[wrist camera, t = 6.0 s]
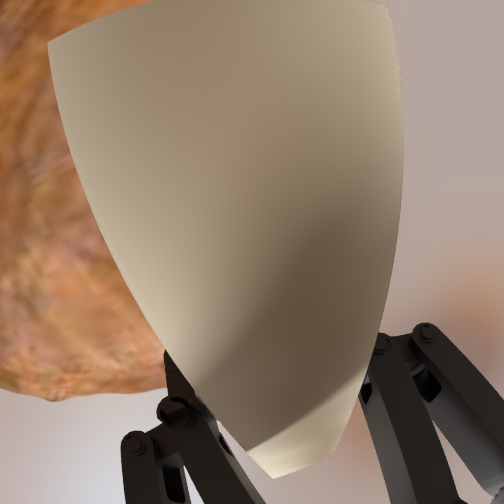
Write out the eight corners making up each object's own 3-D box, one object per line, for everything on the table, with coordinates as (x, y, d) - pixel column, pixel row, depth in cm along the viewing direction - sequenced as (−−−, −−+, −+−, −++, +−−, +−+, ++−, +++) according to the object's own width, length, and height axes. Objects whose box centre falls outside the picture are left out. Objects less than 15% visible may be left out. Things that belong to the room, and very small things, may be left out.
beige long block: (248, 413, 17) (273, 478, 12) (124, 82, 6) (47, 42, 1) (300, 394, 18) (331, 456, 13) (258, 52, 6) (387, 5, 2)
